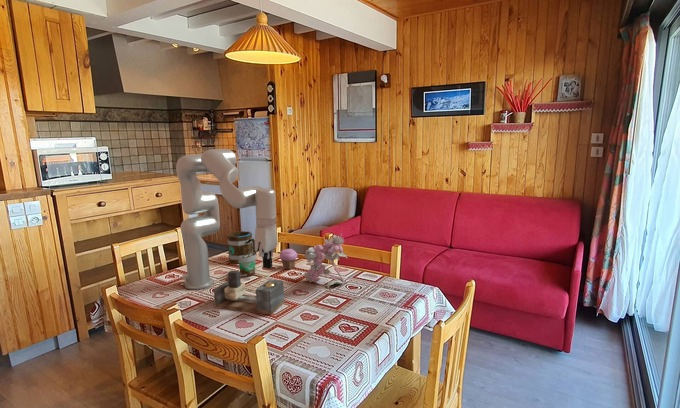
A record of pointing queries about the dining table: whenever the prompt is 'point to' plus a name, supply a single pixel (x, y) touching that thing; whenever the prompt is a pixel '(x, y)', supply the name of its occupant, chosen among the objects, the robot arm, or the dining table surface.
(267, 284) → the button
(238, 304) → the rail base
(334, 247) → the flower
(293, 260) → the cupcake
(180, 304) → the dining table surface
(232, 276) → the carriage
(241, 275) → the food container
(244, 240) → the mug
